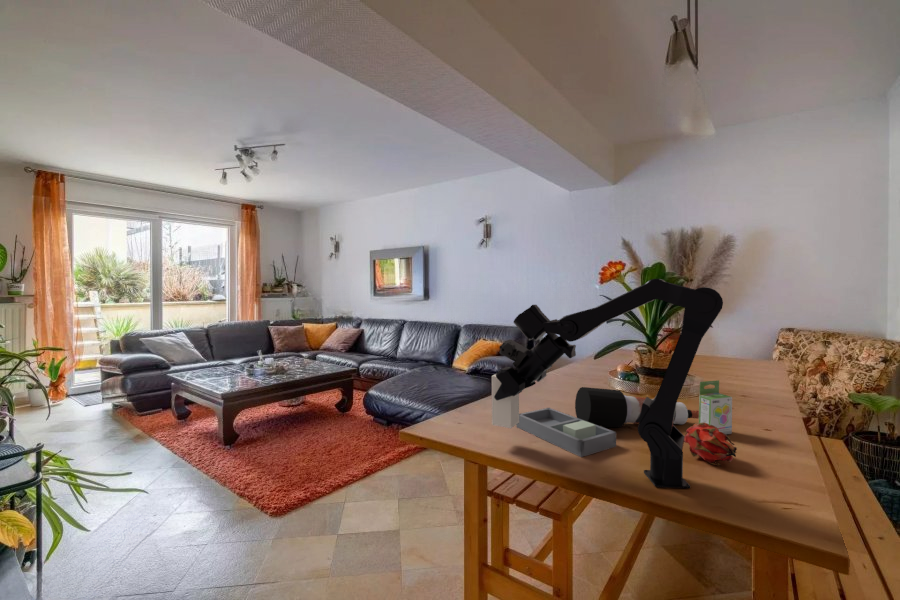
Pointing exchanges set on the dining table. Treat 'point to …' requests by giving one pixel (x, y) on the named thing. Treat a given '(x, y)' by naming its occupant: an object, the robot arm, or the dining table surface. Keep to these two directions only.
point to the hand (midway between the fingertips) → (500, 396)
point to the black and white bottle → (617, 408)
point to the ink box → (715, 407)
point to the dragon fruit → (709, 443)
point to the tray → (567, 431)
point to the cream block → (504, 408)
